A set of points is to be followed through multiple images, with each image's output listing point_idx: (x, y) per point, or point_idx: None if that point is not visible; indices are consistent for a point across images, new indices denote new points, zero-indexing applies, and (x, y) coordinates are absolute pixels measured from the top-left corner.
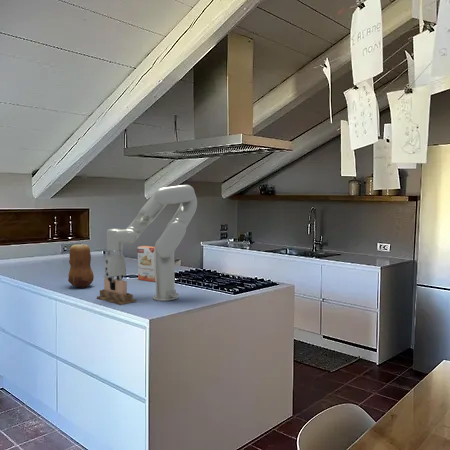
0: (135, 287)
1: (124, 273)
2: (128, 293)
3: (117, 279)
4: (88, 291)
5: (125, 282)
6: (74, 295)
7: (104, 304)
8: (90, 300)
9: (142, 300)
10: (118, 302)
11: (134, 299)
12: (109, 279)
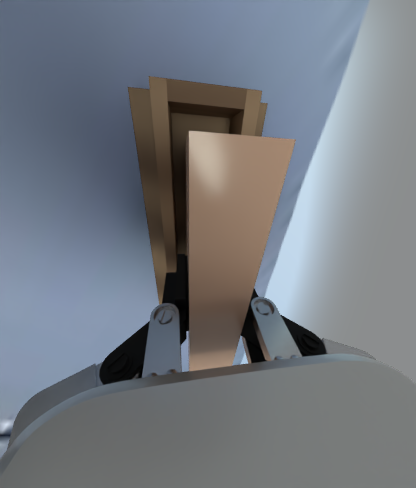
0: (10, 351)
1: (71, 425)
2: (161, 151)
3: (197, 330)
4: (184, 366)
5: (218, 134)
6: (237, 351)
7: (286, 202)
8: (259, 290)
9: (64, 78)
10: (261, 134)
11: (133, 105)
12: (307, 332)
